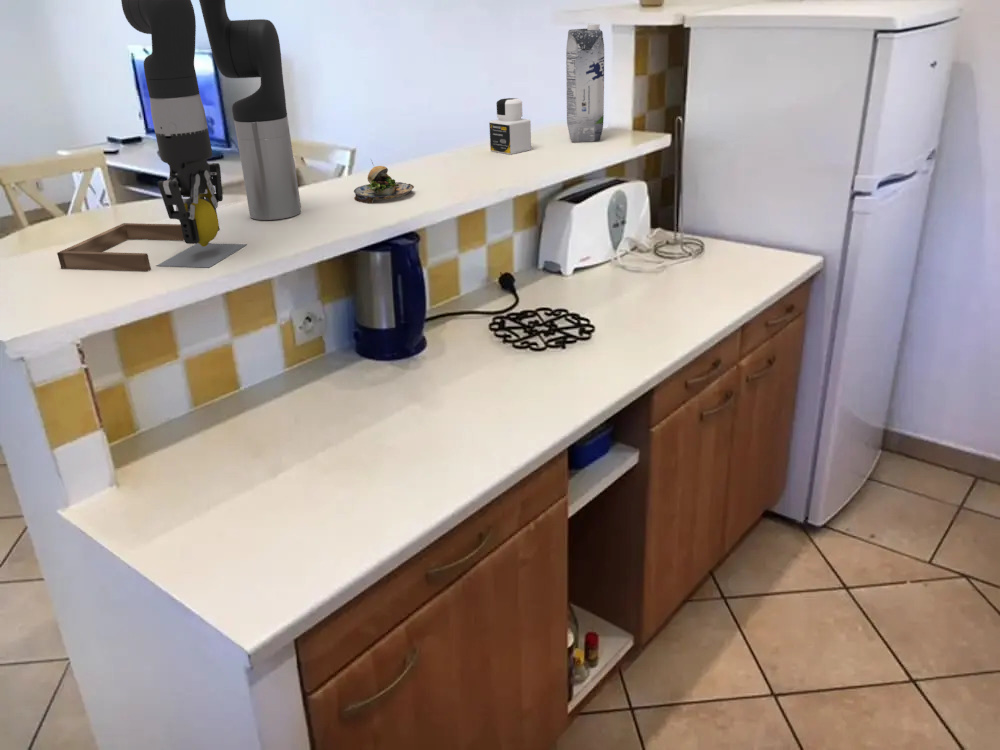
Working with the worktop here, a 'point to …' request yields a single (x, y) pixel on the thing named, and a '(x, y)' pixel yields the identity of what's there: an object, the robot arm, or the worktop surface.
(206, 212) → the lemon
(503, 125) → the medicine bottle
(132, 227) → the bay
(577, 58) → the juice carton
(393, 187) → the burger
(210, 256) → the mat
